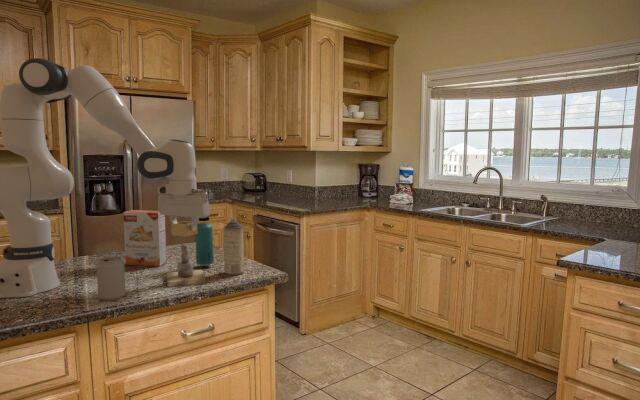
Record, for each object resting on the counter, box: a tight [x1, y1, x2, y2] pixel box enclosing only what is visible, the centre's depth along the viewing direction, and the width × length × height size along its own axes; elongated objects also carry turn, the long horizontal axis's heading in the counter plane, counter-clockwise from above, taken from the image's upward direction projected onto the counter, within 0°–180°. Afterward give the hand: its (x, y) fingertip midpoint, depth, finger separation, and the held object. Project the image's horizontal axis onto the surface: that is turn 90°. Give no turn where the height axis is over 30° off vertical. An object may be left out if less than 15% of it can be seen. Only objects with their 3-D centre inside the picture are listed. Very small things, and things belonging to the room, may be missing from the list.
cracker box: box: [123, 209, 167, 267], centre depth 168 cm, size 14×6×21 cm, turn 83°
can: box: [96, 256, 126, 302], centre depth 131 cm, size 8×8×12 cm
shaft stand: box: [166, 244, 207, 288], centre depth 149 cm, size 12×12×12 cm
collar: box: [170, 220, 198, 238], centre depth 148 cm, size 6×6×4 cm
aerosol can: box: [223, 217, 245, 277], centre depth 158 cm, size 7×7×20 cm
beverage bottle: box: [195, 215, 215, 266], centre depth 166 cm, size 6×7×20 cm
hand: (184, 229), depth 148 cm, fingers closed on collar, 6 cm apart
